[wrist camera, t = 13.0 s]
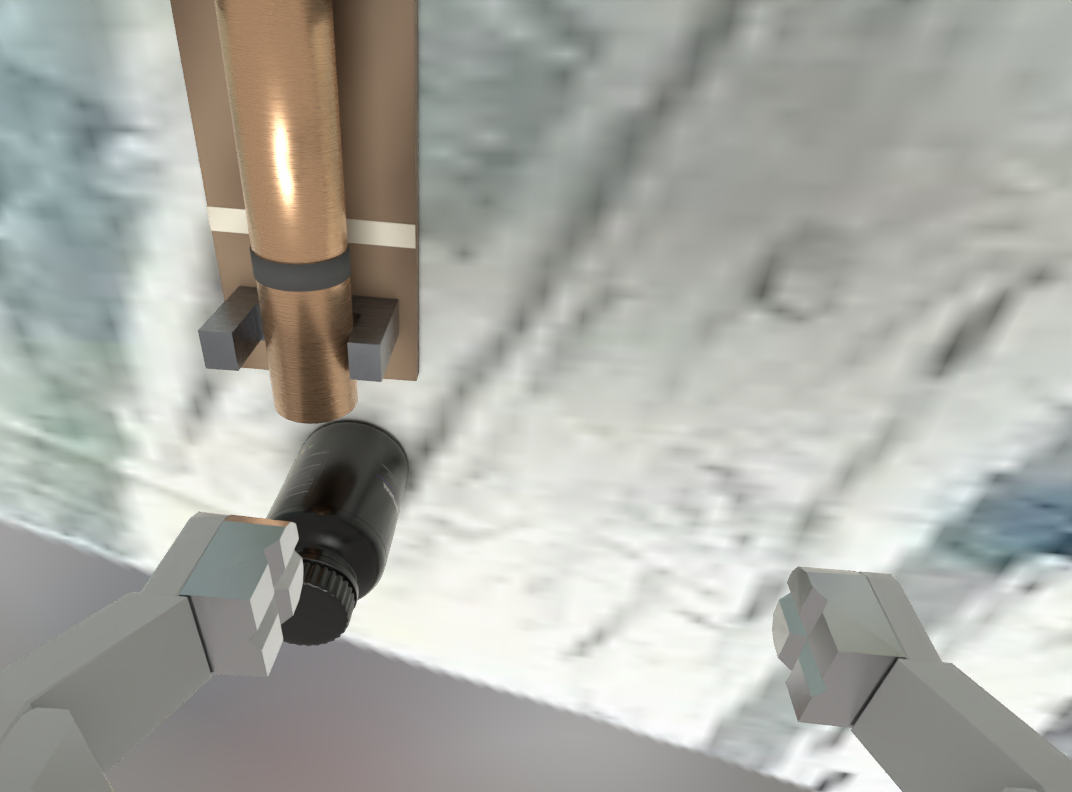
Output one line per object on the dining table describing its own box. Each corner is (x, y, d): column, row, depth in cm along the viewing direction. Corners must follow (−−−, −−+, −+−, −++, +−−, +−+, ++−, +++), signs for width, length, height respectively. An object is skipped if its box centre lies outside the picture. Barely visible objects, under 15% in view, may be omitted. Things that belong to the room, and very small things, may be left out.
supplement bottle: (432, 463, 42) (400, 620, 32) (364, 517, 44) (314, 678, 34) (347, 397, 39) (282, 546, 29) (279, 458, 42) (198, 615, 32)
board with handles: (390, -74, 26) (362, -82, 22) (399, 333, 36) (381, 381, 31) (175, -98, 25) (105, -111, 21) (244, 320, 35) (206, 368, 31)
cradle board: (416, -167, 25) (412, -172, 24) (419, 371, 38) (416, 382, 37) (147, -199, 24) (131, -206, 24) (243, 358, 38) (235, 368, 37)
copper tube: (188, -170, 22) (181, -187, 19) (317, -150, 23) (330, -163, 20) (271, 383, 34) (275, 429, 31) (353, 374, 35) (364, 417, 32)
